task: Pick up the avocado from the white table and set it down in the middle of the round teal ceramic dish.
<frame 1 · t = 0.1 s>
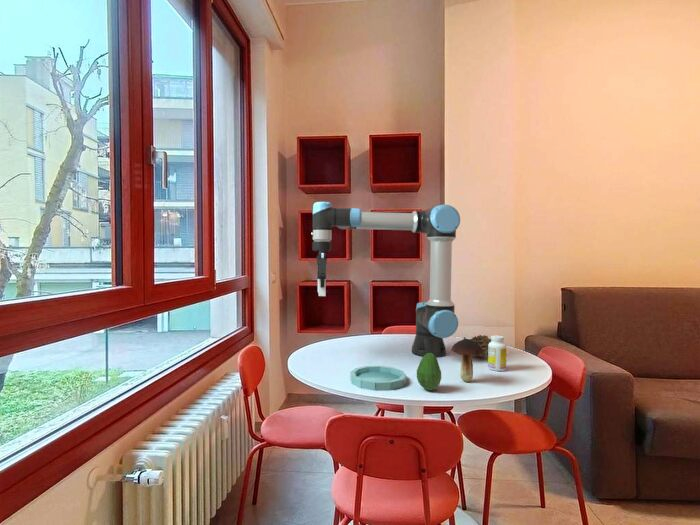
hand: (321, 294, 155), 28 cm above the table, tool pointing down, fingers open, 13 cm apart
dish: (377, 380, 135), on the table
supplement bottle: (496, 369, 150), on the table
pine cone: (475, 355, 171), on the table
decorative mushroom: (466, 381, 135), on the table
avocado: (428, 390, 127), on the table
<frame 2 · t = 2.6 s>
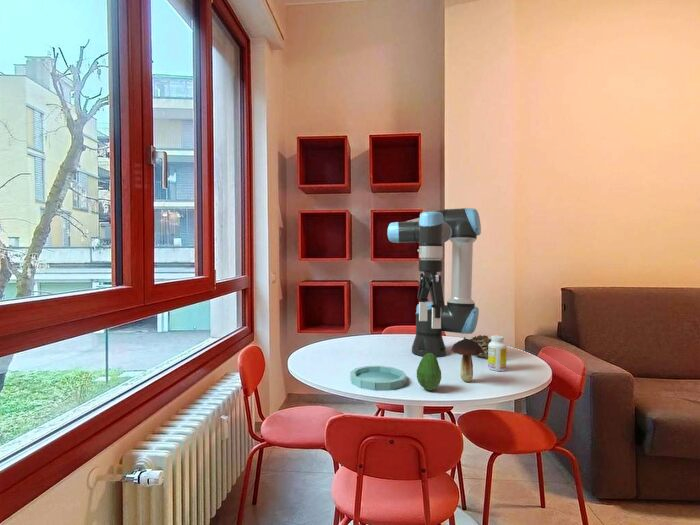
hand: (429, 324, 126), 21 cm above the table, tool pointing down, fingers open, 13 cm apart
nothing on the table moved.
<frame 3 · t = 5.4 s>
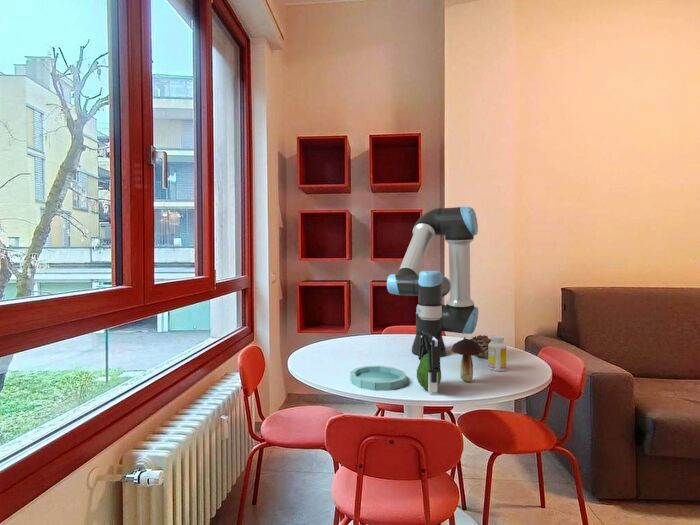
hand: (428, 387, 127), 1 cm above the table, tool pointing down, fingers closed on avocado, 8 cm apart
avocado: (428, 390, 127), on the table, touching gripper
everything else where it was.
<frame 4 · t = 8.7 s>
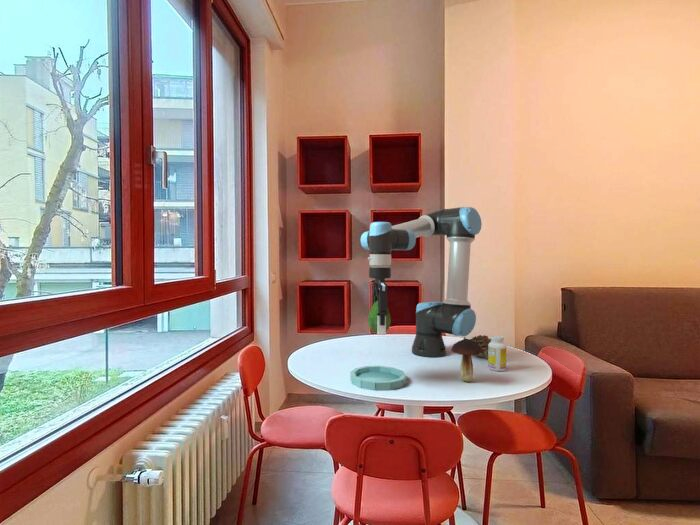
hand: (379, 332, 134), 17 cm above the table, tool pointing down, fingers closed on avocado, 8 cm apart
avocado: (379, 334, 134), point 16 cm above the table, touching gripper
everything else where it was.
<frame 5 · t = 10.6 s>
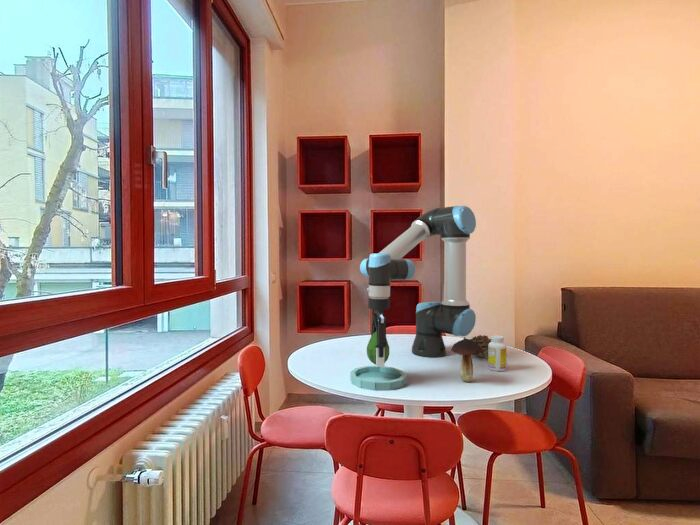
hand: (377, 362, 135), 6 cm above the table, tool pointing down, fingers closed on avocado, 8 cm apart
avocado: (377, 365, 135), point 5 cm above the table, touching gripper
everything else where it was.
when the fingers open (4 cm above the table, at t = 12.0 s): avocado drops 2 cm, resting on dish.
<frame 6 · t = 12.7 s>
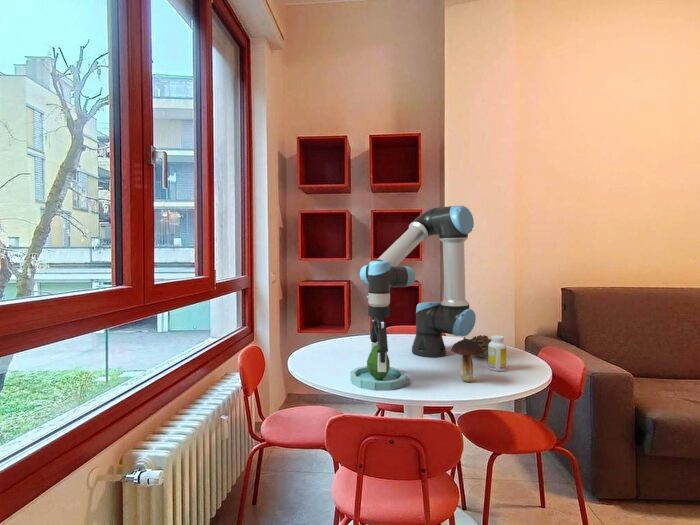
hand: (378, 365, 135), 5 cm above the table, tool pointing down, fingers open, 13 cm apart
avocado: (378, 378, 135), point 1 cm above the table, touching dish
everything else where it was.
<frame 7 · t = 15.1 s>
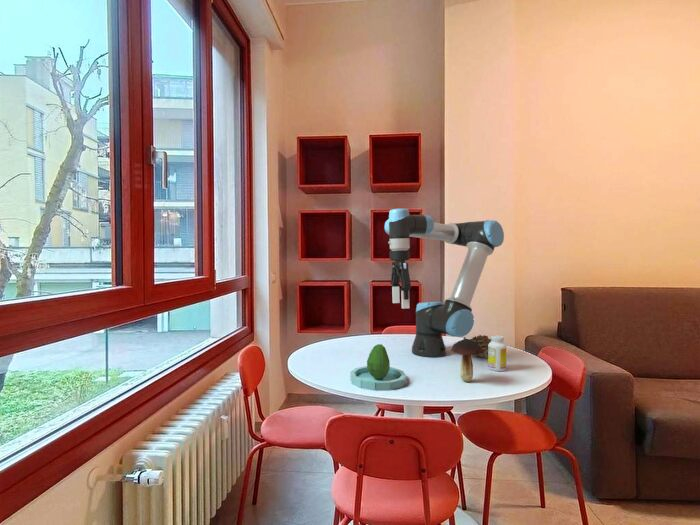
hand: (400, 305, 147), 25 cm above the table, tool pointing down, fingers open, 13 cm apart
nothing on the table moved.
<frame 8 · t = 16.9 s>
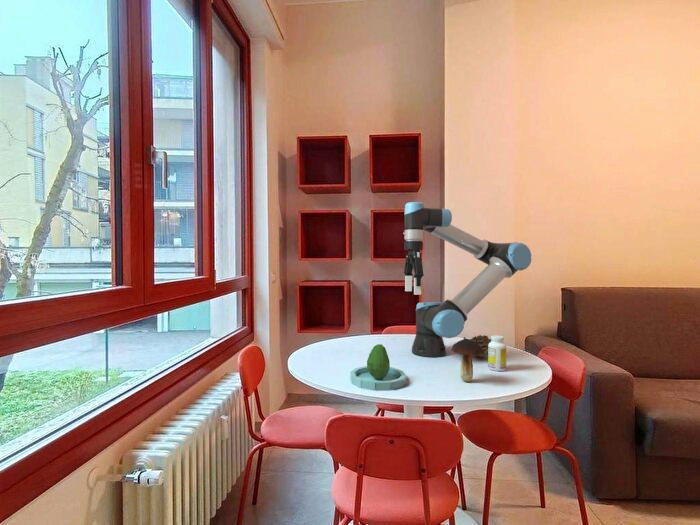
hand: (412, 292, 157), 29 cm above the table, tool pointing down, fingers open, 13 cm apart
nothing on the table moved.
at the end: avocado inside the target area on the dish (0.1 cm from its centre), point 0.6 cm above the dish's base; the gripper is holding nothing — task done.
